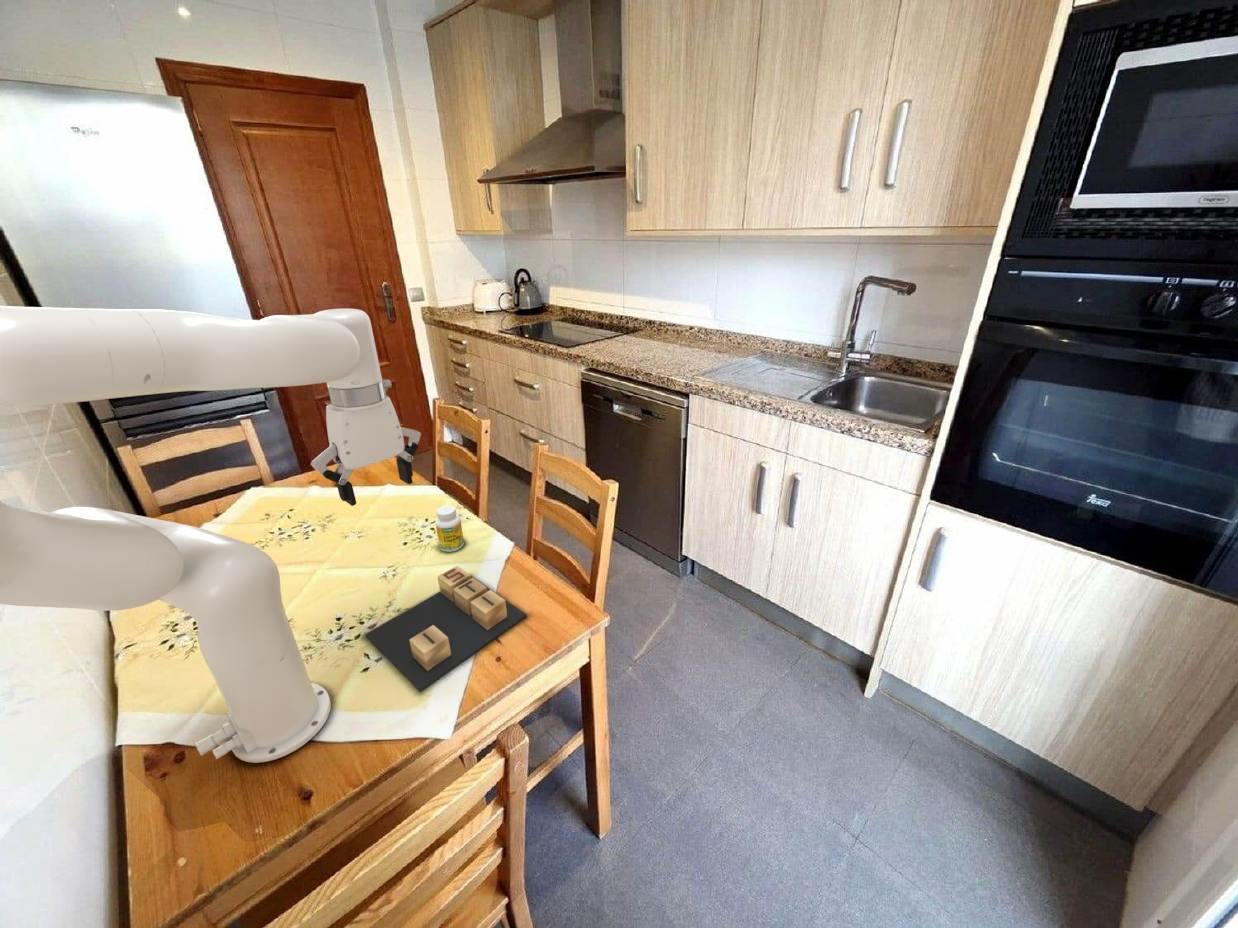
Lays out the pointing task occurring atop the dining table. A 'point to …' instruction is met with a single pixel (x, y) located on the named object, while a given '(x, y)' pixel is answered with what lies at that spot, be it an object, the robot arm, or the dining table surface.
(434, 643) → the tile
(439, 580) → the tile
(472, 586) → the tile
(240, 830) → the dining table surface
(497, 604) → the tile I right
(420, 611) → the word mat
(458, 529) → the supplement bottle
